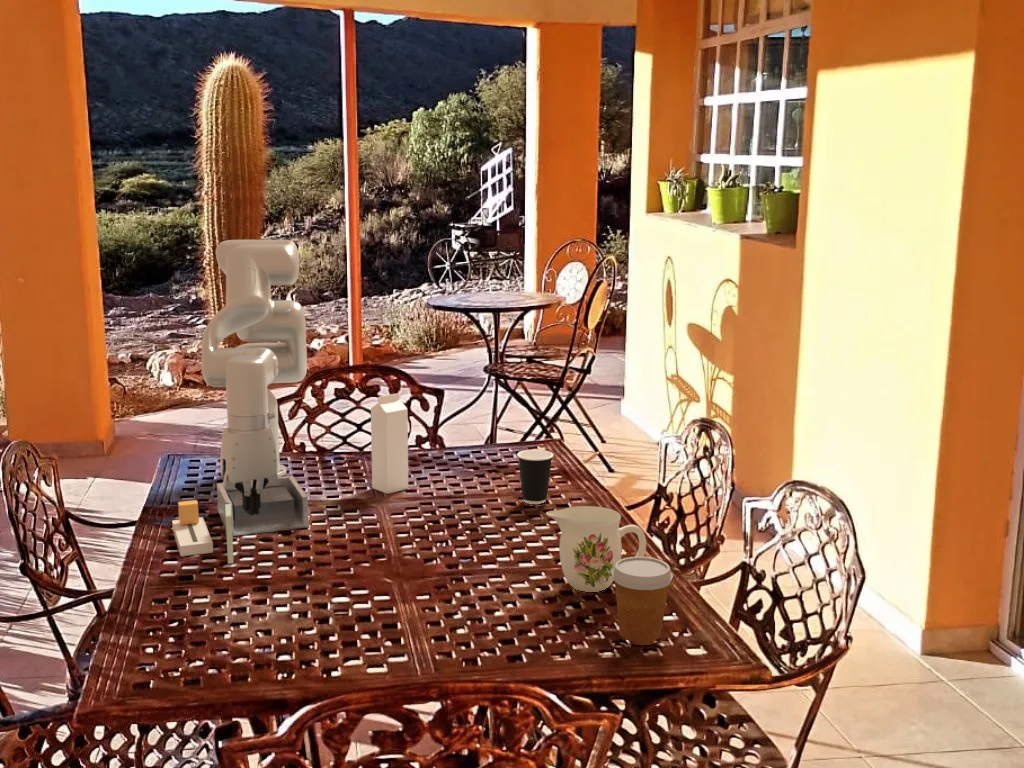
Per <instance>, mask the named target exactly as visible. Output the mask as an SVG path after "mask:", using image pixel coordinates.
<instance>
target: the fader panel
mask: <svg viewBox="0 0 1024 768" xmlns="http://www.w3.org/2000/svg"><path fill="white" fill-rule="evenodd" d="M171 521H172V522H171V523H172V533H173V532H174V533H173V535H174V539H175V542H176V546H177V550H178V552H179V557H186V556H195V555H201V554H202V555H203V554H210V553H211V554H212V553H214V543H213V540H212V538H211V535H210V532H209V530H208V527H207V524H206V522H205V519H204V517H202V516H201V517H200V516H199V523H192V524H183V525H180V522H179V519H175V520H174V519H173V520H171Z"/></svg>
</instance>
